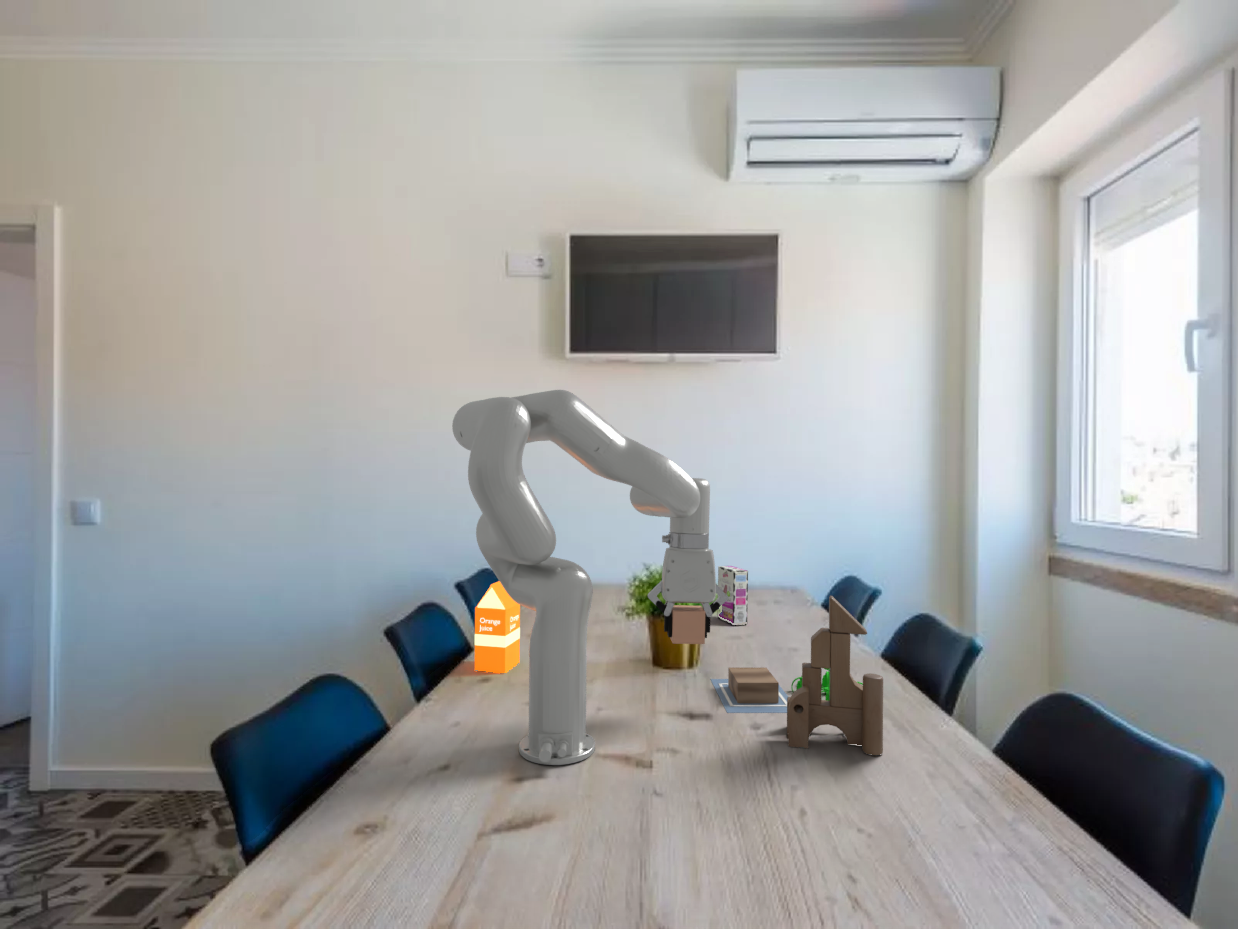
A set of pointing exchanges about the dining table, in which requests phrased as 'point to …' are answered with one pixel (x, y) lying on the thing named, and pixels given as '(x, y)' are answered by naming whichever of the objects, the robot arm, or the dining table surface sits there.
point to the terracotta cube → (688, 625)
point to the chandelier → (824, 683)
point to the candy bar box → (734, 593)
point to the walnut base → (753, 685)
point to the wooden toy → (837, 689)
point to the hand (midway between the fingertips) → (686, 635)
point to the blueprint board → (735, 707)
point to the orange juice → (497, 631)
